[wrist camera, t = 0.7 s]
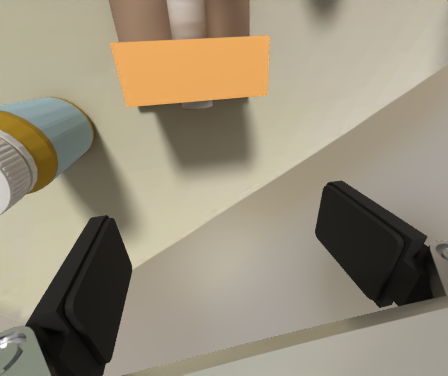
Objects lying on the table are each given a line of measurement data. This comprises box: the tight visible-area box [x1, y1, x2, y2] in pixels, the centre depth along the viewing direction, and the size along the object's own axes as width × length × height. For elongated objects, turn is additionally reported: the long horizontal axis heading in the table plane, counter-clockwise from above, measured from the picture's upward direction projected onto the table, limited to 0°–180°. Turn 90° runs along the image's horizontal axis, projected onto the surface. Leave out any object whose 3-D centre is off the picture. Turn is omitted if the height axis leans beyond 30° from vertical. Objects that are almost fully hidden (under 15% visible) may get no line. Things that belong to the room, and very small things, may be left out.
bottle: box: [0, 97, 94, 214], centre depth 19 cm, size 7×7×15 cm
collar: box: [110, 35, 270, 107], centre depth 20 cm, size 11×4×9 cm, turn 94°
